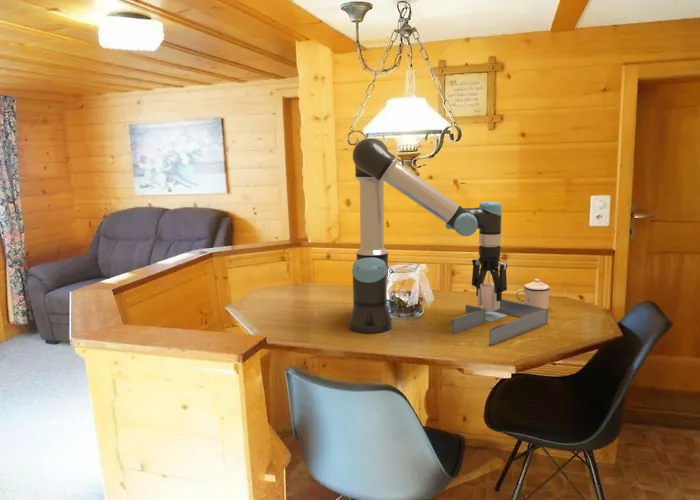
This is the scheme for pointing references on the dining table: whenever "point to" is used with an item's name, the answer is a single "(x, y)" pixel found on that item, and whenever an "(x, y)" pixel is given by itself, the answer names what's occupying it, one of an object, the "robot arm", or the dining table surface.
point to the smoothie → (488, 295)
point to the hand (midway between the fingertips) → (488, 307)
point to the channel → (528, 321)
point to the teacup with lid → (535, 294)
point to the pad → (494, 316)
